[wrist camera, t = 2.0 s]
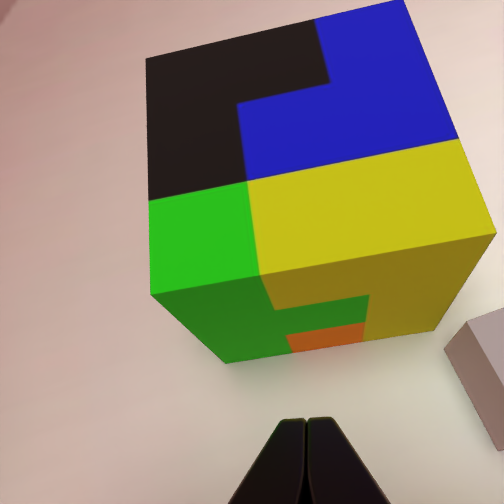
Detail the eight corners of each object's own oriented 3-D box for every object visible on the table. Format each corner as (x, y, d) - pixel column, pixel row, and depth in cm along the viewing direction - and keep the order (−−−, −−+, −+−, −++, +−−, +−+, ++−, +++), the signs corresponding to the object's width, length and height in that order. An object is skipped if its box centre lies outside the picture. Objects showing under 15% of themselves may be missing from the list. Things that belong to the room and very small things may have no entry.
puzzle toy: (382, 159, 26) (402, -3, 17) (433, 330, 22) (496, 232, 13) (210, 193, 27) (145, 58, 18) (225, 364, 23) (150, 294, 14)
